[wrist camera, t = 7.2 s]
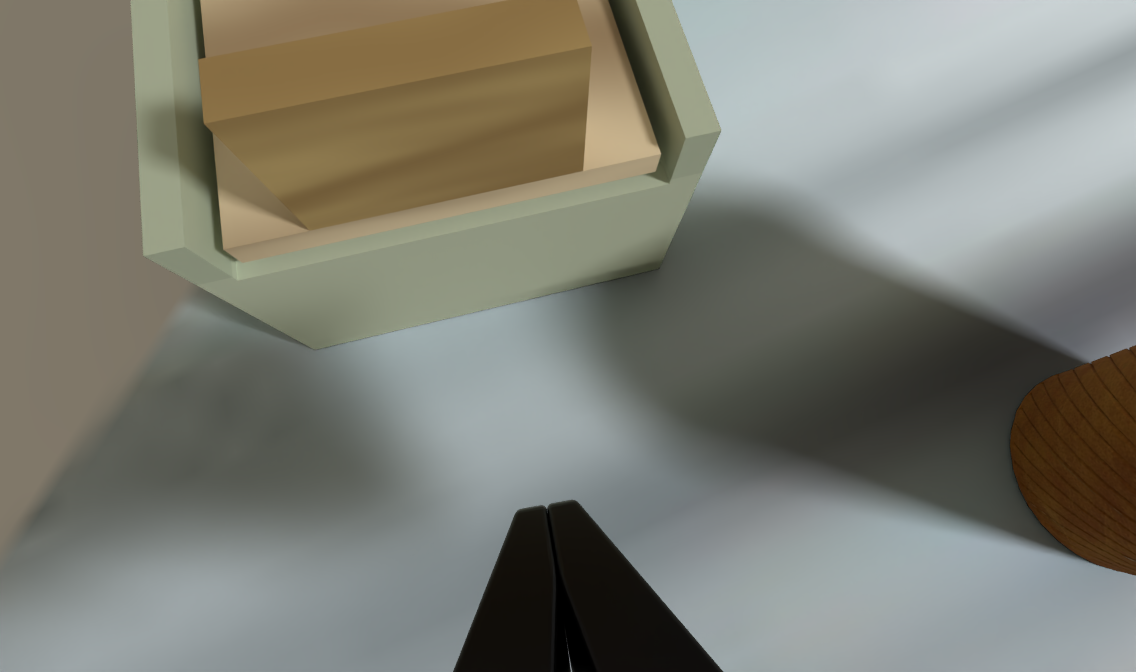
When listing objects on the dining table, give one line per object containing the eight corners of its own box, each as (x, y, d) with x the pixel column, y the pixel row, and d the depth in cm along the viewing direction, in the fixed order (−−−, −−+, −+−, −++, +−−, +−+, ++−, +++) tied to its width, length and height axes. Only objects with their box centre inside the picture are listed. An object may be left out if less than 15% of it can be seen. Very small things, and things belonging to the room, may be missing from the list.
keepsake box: (659, 268, 19) (721, 130, 11) (314, 350, 18) (142, 256, 11) (585, 41, 21) (598, -190, 14) (281, 102, 20) (124, -111, 13)
